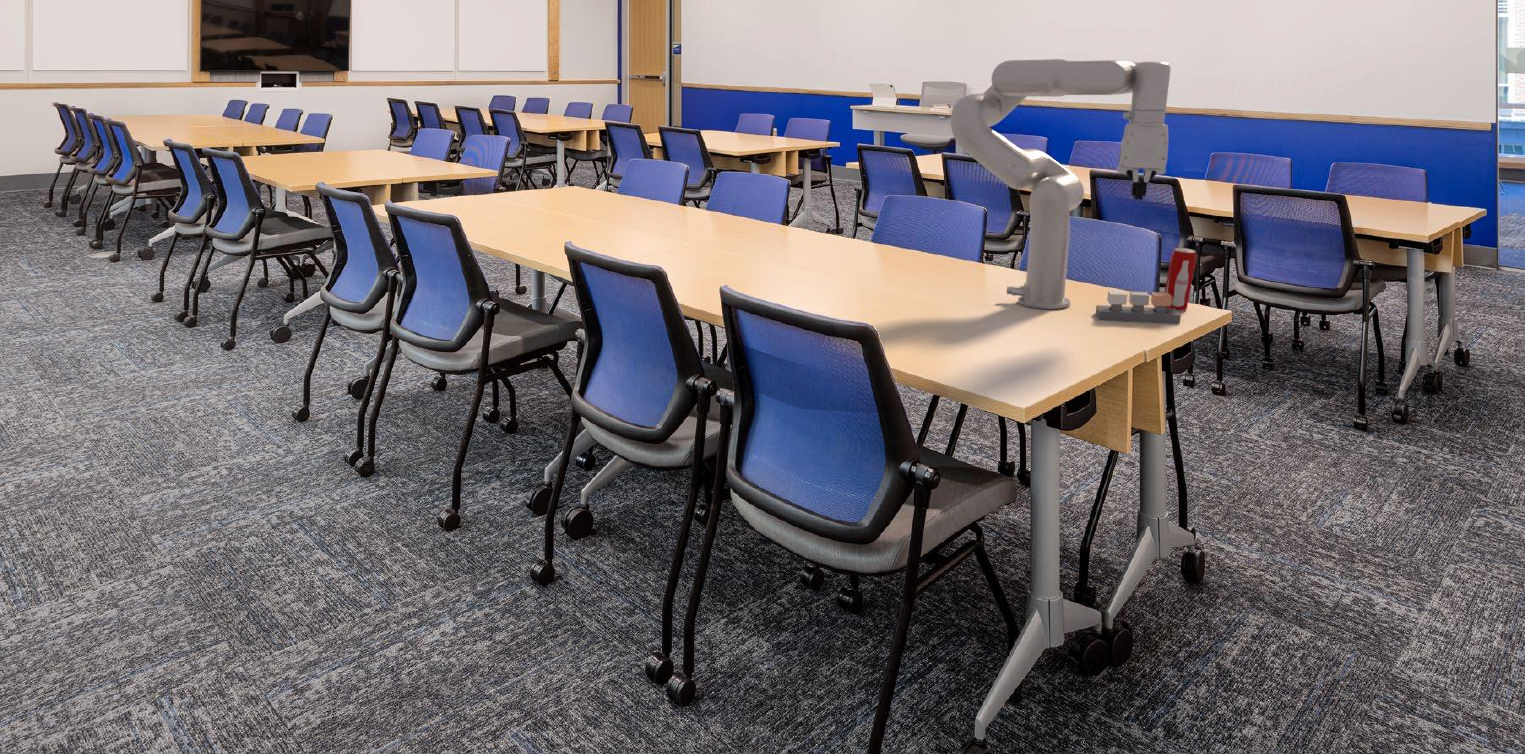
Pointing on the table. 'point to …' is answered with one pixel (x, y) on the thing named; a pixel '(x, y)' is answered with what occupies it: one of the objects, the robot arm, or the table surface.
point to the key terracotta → (1161, 301)
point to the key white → (1117, 299)
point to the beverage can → (1180, 277)
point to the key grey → (1139, 300)
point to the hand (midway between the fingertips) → (1137, 198)
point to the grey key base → (1138, 315)
